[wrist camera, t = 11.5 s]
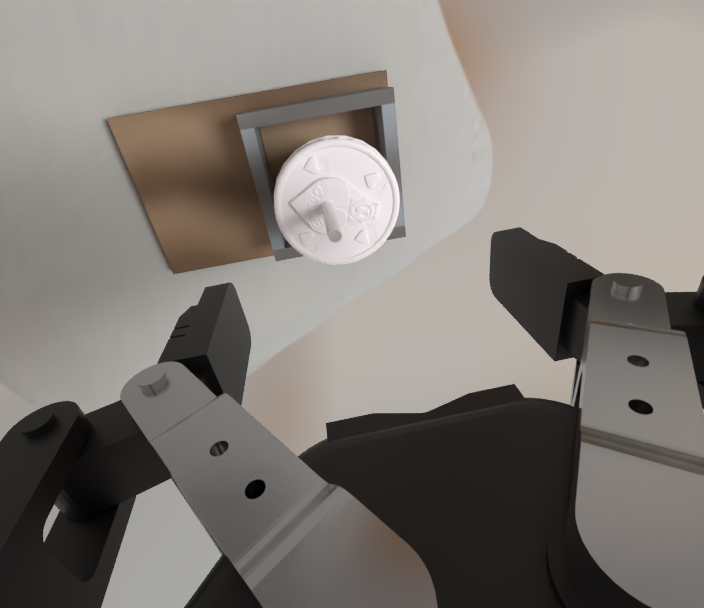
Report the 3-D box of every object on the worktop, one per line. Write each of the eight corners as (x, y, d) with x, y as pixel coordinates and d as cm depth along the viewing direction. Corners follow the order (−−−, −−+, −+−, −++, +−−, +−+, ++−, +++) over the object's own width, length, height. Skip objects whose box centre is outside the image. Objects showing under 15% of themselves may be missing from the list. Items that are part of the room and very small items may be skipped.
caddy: (113, 117, 25) (79, 123, 21) (383, 70, 26) (399, 68, 22) (177, 268, 31) (160, 295, 27) (397, 227, 31) (412, 247, 27)
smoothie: (281, 113, 25) (269, 140, 13) (376, 126, 26) (445, 163, 14) (277, 209, 28) (264, 302, 16) (362, 217, 29) (409, 311, 17)
